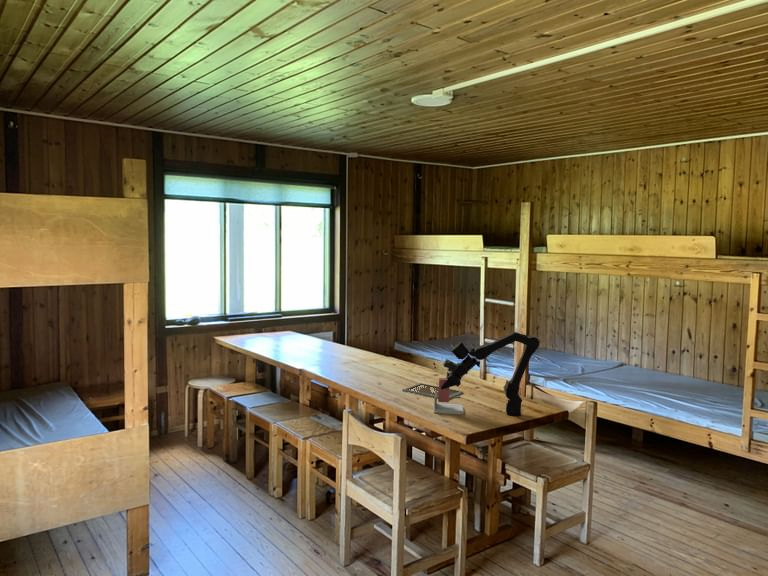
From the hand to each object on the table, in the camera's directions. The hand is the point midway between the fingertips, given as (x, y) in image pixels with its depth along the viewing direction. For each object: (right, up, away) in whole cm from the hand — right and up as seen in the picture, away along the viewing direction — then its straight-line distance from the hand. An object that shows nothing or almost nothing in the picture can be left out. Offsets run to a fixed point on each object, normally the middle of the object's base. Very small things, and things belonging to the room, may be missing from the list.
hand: (441, 387), depth 276 cm
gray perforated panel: (0, -9, +32) cm, 34 cm away
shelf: (+4, -11, +1) cm, 12 cm away
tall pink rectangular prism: (+1, -7, 0) cm, 7 cm away
